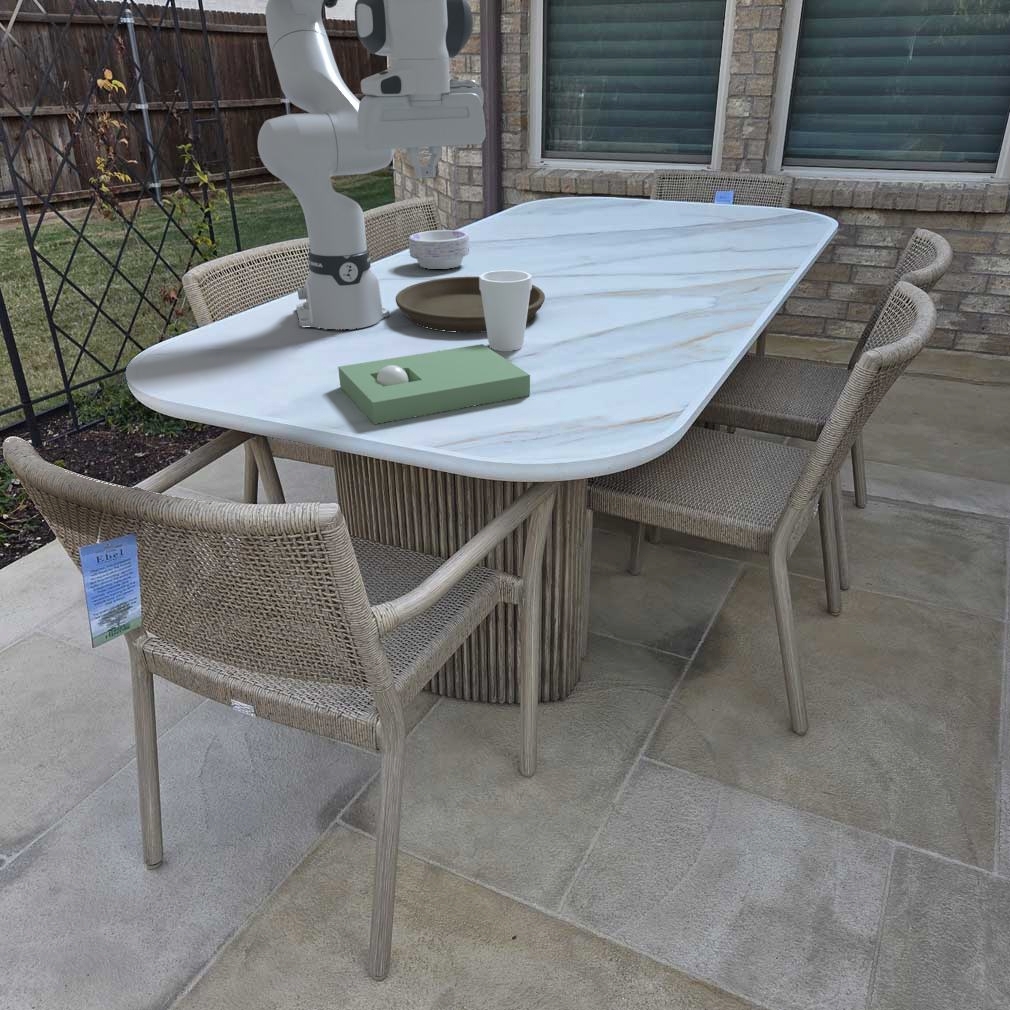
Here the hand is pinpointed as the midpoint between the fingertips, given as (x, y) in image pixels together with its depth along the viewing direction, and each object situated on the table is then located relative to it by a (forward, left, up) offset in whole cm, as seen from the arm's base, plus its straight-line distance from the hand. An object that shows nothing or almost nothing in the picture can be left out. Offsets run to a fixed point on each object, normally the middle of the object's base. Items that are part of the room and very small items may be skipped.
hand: (425, 177), depth 136 cm
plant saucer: (-27, +19, -32) cm, 46 cm away
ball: (+12, -12, -28) cm, 33 cm away
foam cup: (-4, +16, -31) cm, 35 cm away
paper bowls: (-71, +30, -31) cm, 83 cm away
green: (+12, -5, -31) cm, 34 cm away
